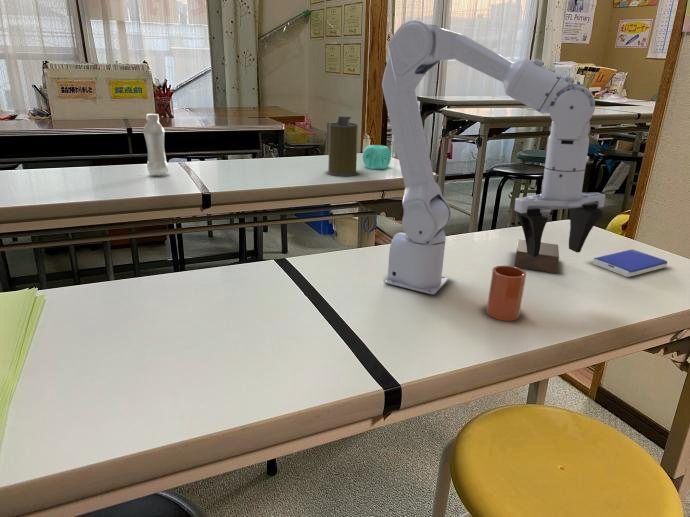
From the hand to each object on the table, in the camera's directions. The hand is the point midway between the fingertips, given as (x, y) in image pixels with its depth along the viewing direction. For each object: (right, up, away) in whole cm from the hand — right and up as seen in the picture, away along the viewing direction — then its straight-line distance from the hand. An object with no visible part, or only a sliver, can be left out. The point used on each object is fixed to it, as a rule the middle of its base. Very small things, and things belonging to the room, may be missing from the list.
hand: (553, 252), depth 83 cm
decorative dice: (-22, +34, +115) cm, 122 cm away
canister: (-35, +30, +103) cm, 113 cm away
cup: (-8, -10, +1) cm, 13 cm away
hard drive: (+25, -3, +24) cm, 35 cm away
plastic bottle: (-97, +27, +90) cm, 135 cm away
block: (+6, -2, +23) cm, 24 cm away
